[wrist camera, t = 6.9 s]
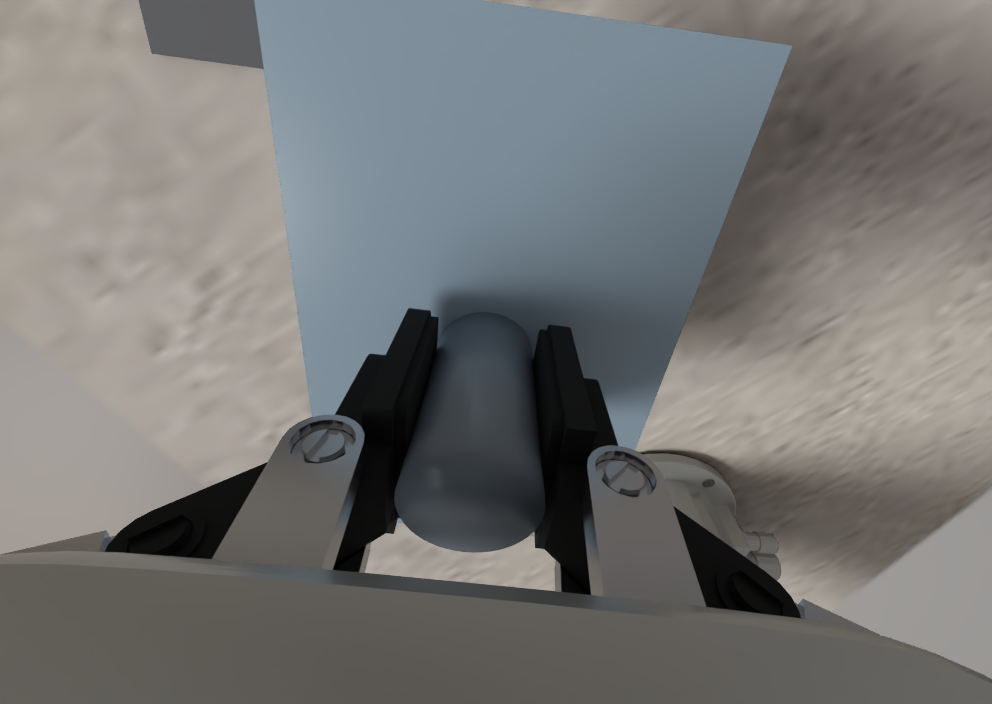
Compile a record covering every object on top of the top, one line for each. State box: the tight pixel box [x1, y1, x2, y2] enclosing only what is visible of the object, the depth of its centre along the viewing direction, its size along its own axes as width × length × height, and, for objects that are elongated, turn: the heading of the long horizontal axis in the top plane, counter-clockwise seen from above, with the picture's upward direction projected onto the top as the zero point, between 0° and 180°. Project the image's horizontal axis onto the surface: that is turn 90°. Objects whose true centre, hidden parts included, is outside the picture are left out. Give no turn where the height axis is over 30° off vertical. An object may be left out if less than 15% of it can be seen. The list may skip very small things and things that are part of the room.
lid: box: [254, 0, 792, 552], centre depth 10 cm, size 10×15×6 cm, turn 173°
